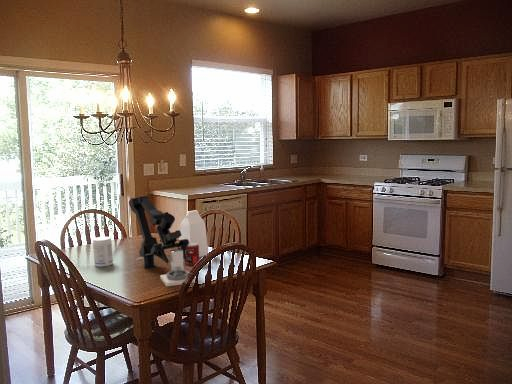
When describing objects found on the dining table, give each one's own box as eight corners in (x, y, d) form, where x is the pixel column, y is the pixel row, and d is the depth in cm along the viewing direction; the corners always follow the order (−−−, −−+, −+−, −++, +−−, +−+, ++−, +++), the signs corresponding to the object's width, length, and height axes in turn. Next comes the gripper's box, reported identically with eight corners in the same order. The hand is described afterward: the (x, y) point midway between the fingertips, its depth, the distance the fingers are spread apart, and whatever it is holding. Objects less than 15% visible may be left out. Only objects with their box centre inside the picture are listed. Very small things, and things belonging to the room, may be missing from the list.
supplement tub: (107, 261, 262) (106, 235, 260) (116, 264, 255) (114, 238, 254) (91, 264, 255) (89, 238, 253) (99, 268, 249) (97, 241, 247)
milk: (190, 258, 264) (188, 213, 261) (180, 254, 273) (178, 210, 269) (208, 255, 271) (206, 210, 268) (197, 251, 280) (196, 208, 277)
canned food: (181, 263, 254) (180, 244, 253) (193, 260, 260) (192, 241, 258) (190, 266, 249) (189, 246, 247) (202, 263, 254) (201, 243, 253)
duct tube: (168, 278, 225) (167, 251, 223) (176, 274, 230) (175, 248, 228) (179, 279, 222) (177, 252, 220) (186, 276, 227) (185, 249, 225)
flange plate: (160, 278, 230) (159, 271, 229) (188, 274, 235) (187, 267, 235) (166, 286, 217) (166, 279, 216) (195, 282, 222) (195, 275, 222)
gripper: (152, 228, 221) (164, 255, 214) (186, 222, 233) (199, 248, 225) (145, 241, 228) (157, 268, 221) (179, 235, 240) (191, 261, 233)
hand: (176, 261), depth 225 cm, fingers open, 9 cm apart
